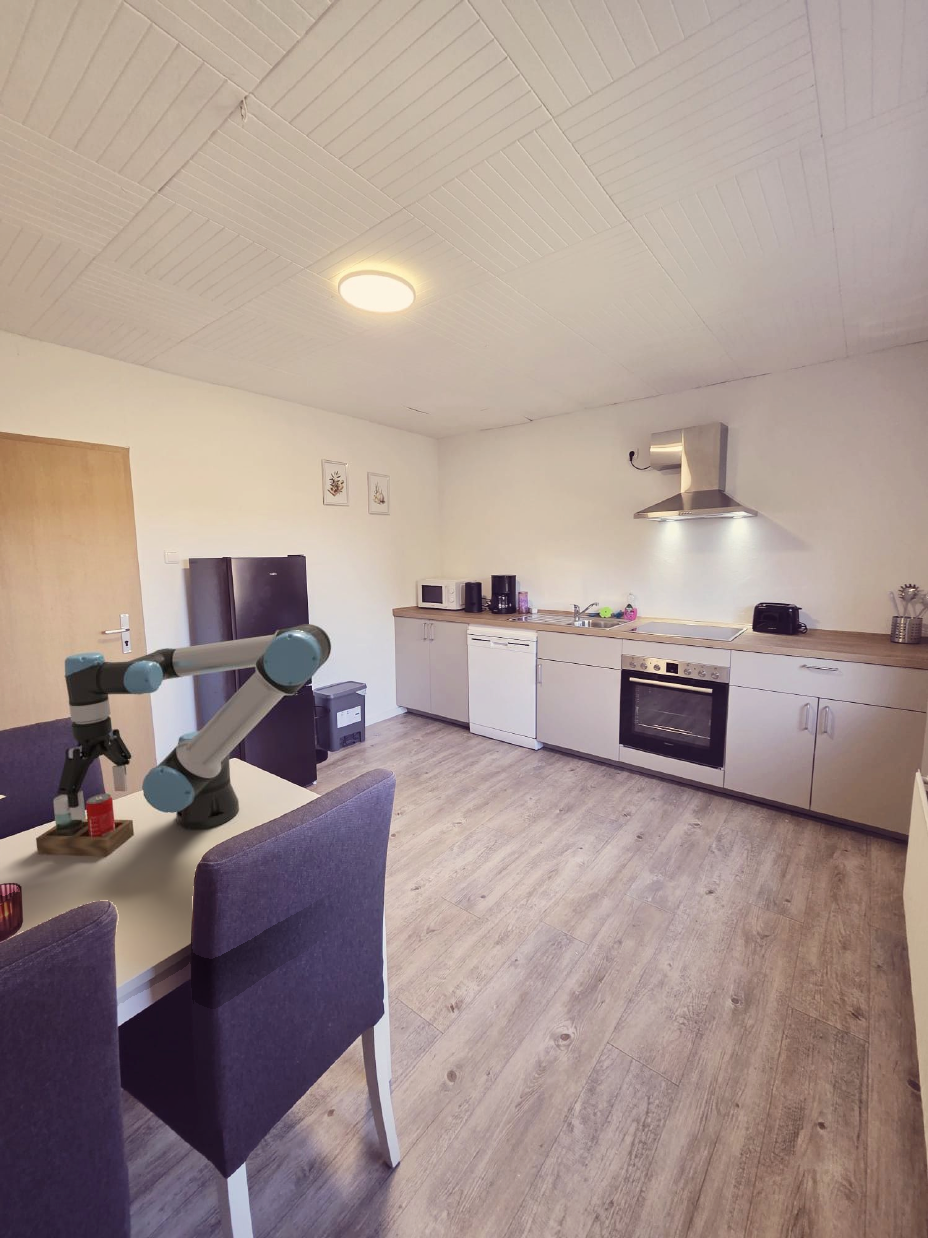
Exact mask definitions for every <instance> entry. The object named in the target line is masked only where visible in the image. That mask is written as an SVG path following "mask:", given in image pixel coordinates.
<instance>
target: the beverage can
mask: <svg viewBox="0 0 928 1238" xmlns="http://www.w3.org/2000/svg"><path fill="white" fill-rule="evenodd" d="M85 812H86V819H87V821H88V831H89V837H106V836H107V835H108V834H110V833H111V832H112V831H114V830H115V822H114V820H115V813H114V803H113V798H112V795H111V794H109V793H100V794H95V795H94V796H90V797H89V798H88V799H86V803H85Z"/></svg>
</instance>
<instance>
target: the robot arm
mask: <svg viewBox="0 0 928 1238" xmlns="http://www.w3.org/2000/svg"><path fill="white" fill-rule="evenodd" d="M331 650H332V643H331V639H330V637H329V635H328V633H327V632H326V631H325V630H324V629H323V628H321V627H320V626H317V625H314V624H309V623H303V624H300V625H296V626H293V627H289V628H284V629H283V628H282V629H277V630H276V631H275V632H274V634H270V635H262V636H255V637H248V638H241V639H234V640H227V641H220V642H219V641H218V642H214V643H206V644H199V645H191V646H184V647H178V648H172V647H167V648H160V649H157V650H155V651H153V652H151V653H148V654H145V655H143V656H140V657H136V658H134V659H131V660H128V661H113V662H112V661H106V659H105V656H104V654H102V652H84V653H76V654H73V655H69V656H67V657H66V658H65V659H64V678H65V679H64V680H65V682H66V683H65V684H66V689H67V695H68V706H69V713H70V721H71V722H72V723H71V733H72V738H73V739H75V740H76V742H77V743H76V747H73V748H66V749H65V752H64V753H65V755H64V756H65V761H64V765H63V769H62V771H61V772H62V773H61V778H60V781H59V785H58V789H57V795H58V796H60V795H67V798H68V806H69V808H70V809H71V817H72V820H84V819H87V814H86V806H85V800H84V792H83V790H80V789H81V787H82V786H83V783H84V780H85V778H86V776H87V772H88V771H89V768H90V766H91V764H93V763H94V761H95V760H97V759H98V758H99V757H100V756H104V757H105V758H107V759H108V760H109V761H111V762H112V763H113V764H114V765H112V766H111V767H112V768H111V769H112V770H111V771H112V778H113V785H114V786H113V787H114V792H126V791H128V785H127V768H126V765H127V766H129V765H130V763H131V761H130V760H131V759H132V754H131V753H130V751H129V749H128V747H127V746H126V744H125V742H124V740H123V739H122V737H121V734H120V730H119V729H118V728H116V729H115V728H113V727H112V726H113V725H112V718H111V717H110V715H111V706H110V699H109V695H138V696H139V695H145V694H152V693H155V692H156V691H158V690H159V688H160V686H161V685H162V683H163V681H165V680H170V679H171V680H173V679H176V678H177V679H178V678H183V677H190V676H199V675H204V674H205V675H206V674H212V673H219V672H225V671H226V672H227V671H233V670H240V669H247V668H254V669H255V672H254V673H253V674H252V675H251V676H250V677H249V679H247V680H246V682H245V683H244V684H243V685H242V686H241V687H240V688H239V689H238V690H237V691H236V692H235V693H234V694H233V695H232V696H231V698H230V699H229V700H228V701H227V702H226V703H225V704H224V705H223V706H222V707H221V708H220V709H219V710H218V711H217V712H216V714H214V716H212V717H211V719H209V721H208V722H207V723H206V724H205V725H204V726H203V727H202V728H201V729H200V730H198V731H197V730H196V731H191V732H187V733H185V734H184V733H183V734H182V735H180V736H179V738H178V741H177V745H176V746H175V747H174V748H173V750H172V751H170V753H168V754H167V756H165V758H164V759H163V760H162V761H161V762H160V763H159V764H157V765H156V766H155V767H153V768H151V769H150V770H149V771H148V773H147V774H146V775H145V776H144V779H143V780H142V786H141V788H142V789H141V790H142V792H143V797H144V799H145V800H146V802H147V803H148V804H149V805H150V806H151V807H152V808H154V809H155V810H157V811H158V812H163V813H176V815H175V816H176V817H175V818H176V823H177V825H178V826H179V827H180V828H183V829H186V830H202V829H203V830H204V829H208V828H214V827H217V826H219V825H221V824H224V823H226V822H229V821H230V820H232V819H233V818H234V817H236V815H237V814H238V813H239V810H240V803H239V798H238V797H237V794H236V792H235V789H234V787H233V785H232V783H231V771H230V767H231V765H230V753H231V752H232V751H233V750H234V749H235V748H236V747H237V746H238V744H240V743H241V741H242V740H244V738H245V737H247V736H248V734H249V733H250V732H251V731H252V730H253V729H254V728H255V727H256V726H257V725H258V724H259V723H260V721H262V720H263V718H264V717H265V716H266V715H267V714H268V713H269V712H270V711H271V710H272V708H274V706H276V705H277V704H278V702H280V700H282V698H283V697H284V696H294V695H295V694H296V693H297V692H298V691H299V690H301V688H302V686H304V685H305V684H306V683H307V682H308V680H310V679H311V678H313V676H314V675H315V674H317V671H318V670H319V669H320V668H321V667H322V666H323V665H324V664H325V663H326V662H327V661H328V659H329V657H330V656H331Z"/></svg>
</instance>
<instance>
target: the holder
mask: <svg viewBox="0 0 928 1238" xmlns="http://www.w3.org/2000/svg"><path fill="white" fill-rule="evenodd" d="M82 821H83V822H82V823H83V829H82V830H80V831H79V832H77V833H76V834H75V835H73V836H57V829H56V825H54V826H53V827H51V828H50V829H48V830H46V831H45V832H43V833H41V834H40V835H38V836H37V837H35V840H36V841H35V842H36V851H37V855H50V856H51V855H55V856H60V855H61V856H84V857H85V856H88V857H90V856H91V857H108V856H110V855H111V854H113V852H115V851H116V850H117V849H118V848H120V847H121V846H122V845H123V844H125V843H126V842H127V841H129V839H130V838H132V837H133V836H135V833H134V823H133V822H134V821H133V819H114V822H115V830H114V831H112V832H111V833H110V834H108V835H107V836H106V837H89V831H88V821H87V818H85V819H84V820H82Z"/></svg>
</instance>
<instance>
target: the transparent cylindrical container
mask: <svg viewBox="0 0 928 1238" xmlns="http://www.w3.org/2000/svg"><path fill="white" fill-rule="evenodd" d="M52 801H53V811H54V821H55V822H54V823H55V826H56V829H57V836H73V835H75V834H76V833H77V832H79V831H80V830H82V829H83V823H82V822H83V821H82V820H72V817H71V809H70V808H69V806H68V798H67V795H58V796H56V797H55V798H53V800H52Z"/></svg>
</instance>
